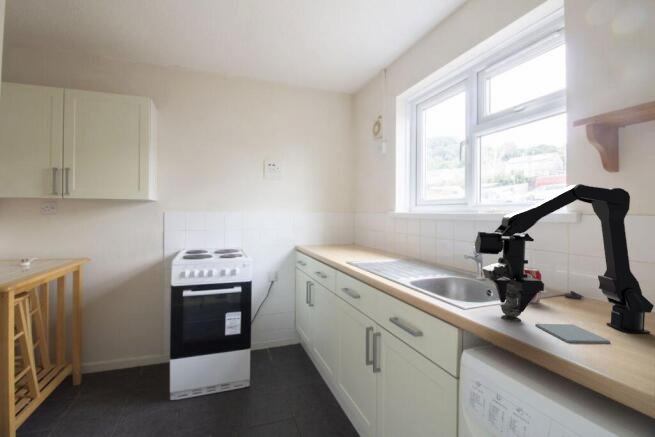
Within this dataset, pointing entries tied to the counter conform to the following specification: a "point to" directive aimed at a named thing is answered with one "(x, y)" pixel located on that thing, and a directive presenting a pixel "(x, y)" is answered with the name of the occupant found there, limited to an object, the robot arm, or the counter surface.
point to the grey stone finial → (511, 304)
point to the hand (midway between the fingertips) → (511, 306)
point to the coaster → (572, 333)
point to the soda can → (536, 275)
